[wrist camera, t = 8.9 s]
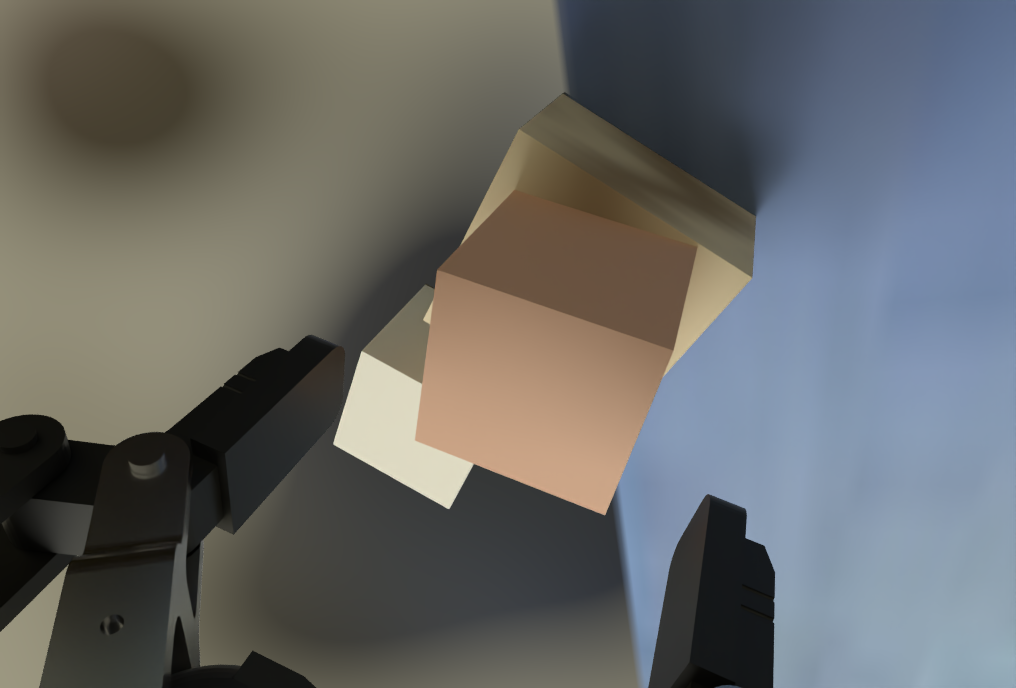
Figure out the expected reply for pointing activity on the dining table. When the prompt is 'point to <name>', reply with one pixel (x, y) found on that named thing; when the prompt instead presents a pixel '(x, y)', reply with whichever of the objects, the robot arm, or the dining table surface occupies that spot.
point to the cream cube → (398, 408)
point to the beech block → (630, 201)
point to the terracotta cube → (551, 345)
